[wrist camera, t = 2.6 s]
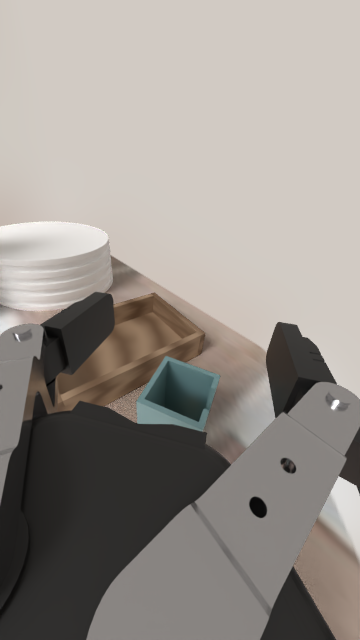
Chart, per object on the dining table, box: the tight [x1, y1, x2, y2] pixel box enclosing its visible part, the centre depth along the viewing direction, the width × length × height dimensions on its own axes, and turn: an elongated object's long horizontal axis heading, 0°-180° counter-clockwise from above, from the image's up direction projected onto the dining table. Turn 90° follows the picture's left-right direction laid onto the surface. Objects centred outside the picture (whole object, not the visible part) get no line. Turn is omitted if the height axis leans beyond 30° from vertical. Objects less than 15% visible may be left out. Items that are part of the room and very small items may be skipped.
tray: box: [57, 293, 205, 412], centre depth 38 cm, size 24×16×5 cm, turn 128°
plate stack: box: [0, 222, 113, 311], centre depth 55 cm, size 28×28×12 cm
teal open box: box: [136, 356, 220, 432], centre depth 24 cm, size 6×6×12 cm
